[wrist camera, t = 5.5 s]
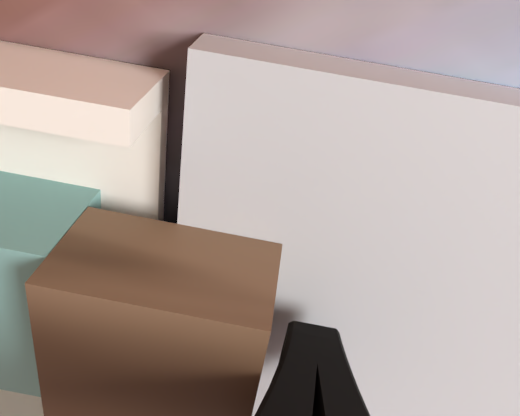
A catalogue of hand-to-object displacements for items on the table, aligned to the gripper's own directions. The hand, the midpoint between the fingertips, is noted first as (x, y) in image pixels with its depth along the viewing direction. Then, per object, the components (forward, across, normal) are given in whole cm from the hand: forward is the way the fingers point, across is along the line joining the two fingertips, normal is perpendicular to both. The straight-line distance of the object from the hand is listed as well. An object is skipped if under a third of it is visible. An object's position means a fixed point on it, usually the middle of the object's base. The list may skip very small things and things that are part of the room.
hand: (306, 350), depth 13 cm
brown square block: (+1, +4, 0) cm, 4 cm away
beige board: (+2, -2, 0) cm, 3 cm away
